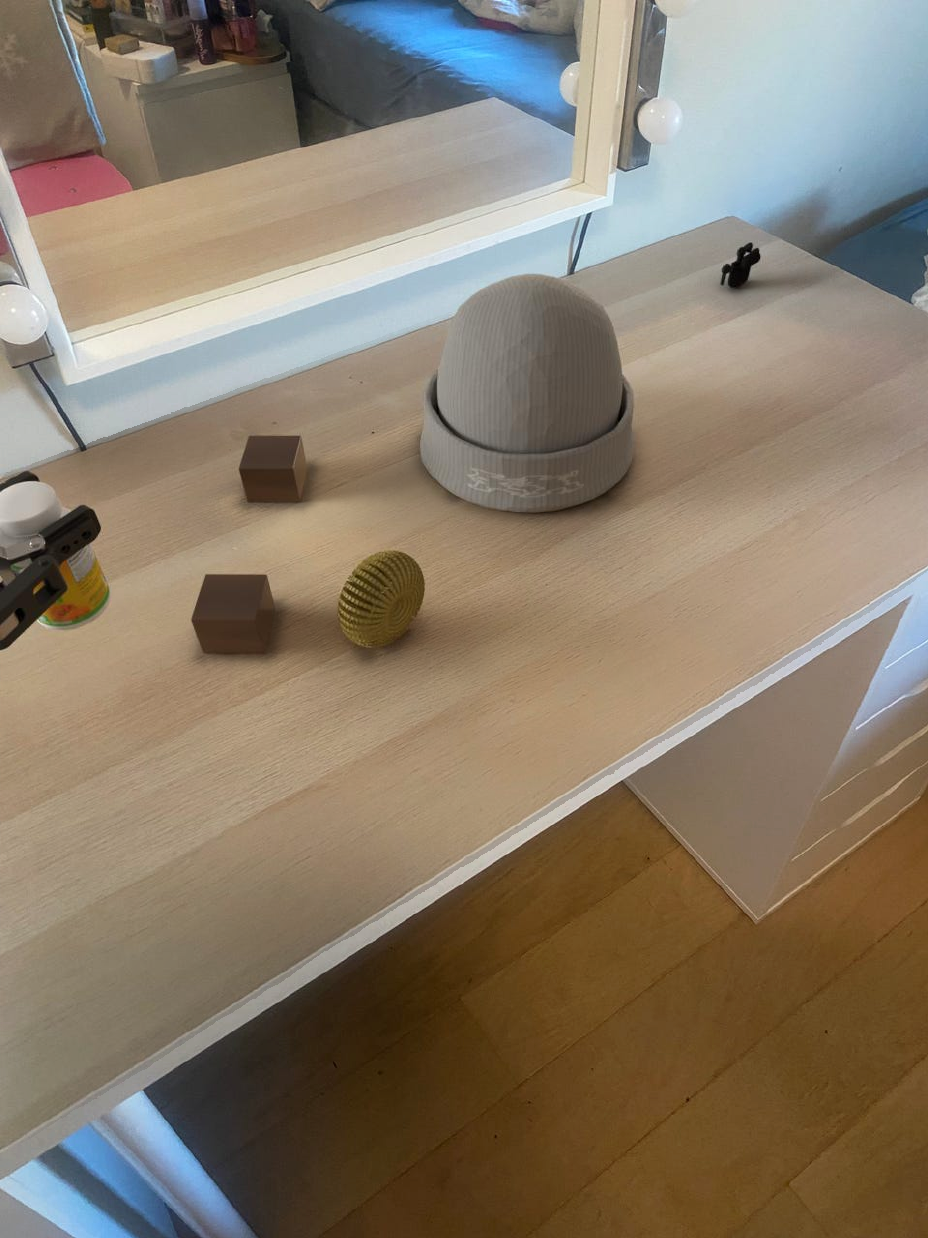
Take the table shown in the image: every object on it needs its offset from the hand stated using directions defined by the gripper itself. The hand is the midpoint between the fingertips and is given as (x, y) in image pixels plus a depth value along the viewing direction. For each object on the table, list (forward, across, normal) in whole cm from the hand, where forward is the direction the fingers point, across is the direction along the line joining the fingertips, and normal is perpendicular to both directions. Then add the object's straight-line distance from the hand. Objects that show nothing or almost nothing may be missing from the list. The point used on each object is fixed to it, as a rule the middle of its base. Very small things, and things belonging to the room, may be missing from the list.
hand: (64, 499), depth 59 cm
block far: (+22, +5, +16) cm, 28 cm away
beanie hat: (+40, -11, +16) cm, 45 cm away
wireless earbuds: (+82, -15, +16) cm, 85 cm away
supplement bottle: (-3, 0, +8) cm, 9 cm away
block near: (+7, -5, +16) cm, 18 cm away
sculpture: (+13, -15, +16) cm, 26 cm away
